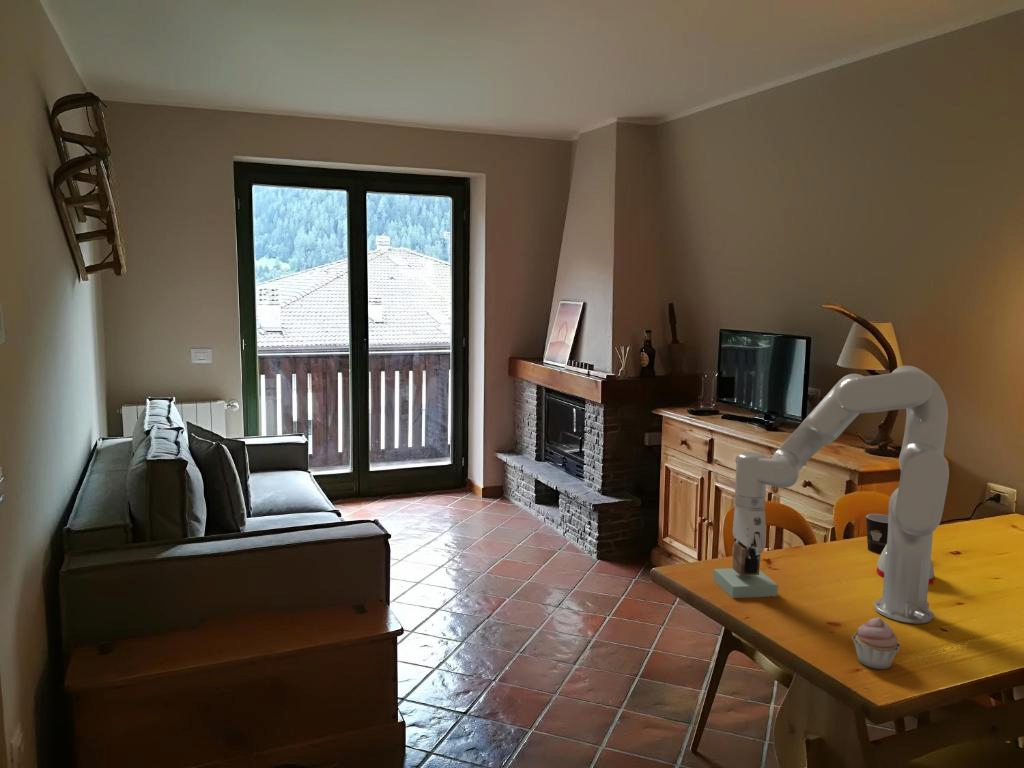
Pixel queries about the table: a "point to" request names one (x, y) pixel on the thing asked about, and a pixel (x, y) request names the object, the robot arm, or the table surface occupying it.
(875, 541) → the coffee mug
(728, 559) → the table surface
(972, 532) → the table surface
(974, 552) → the table surface
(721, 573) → the plate
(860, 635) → the cupcake
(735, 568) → the walnut block
